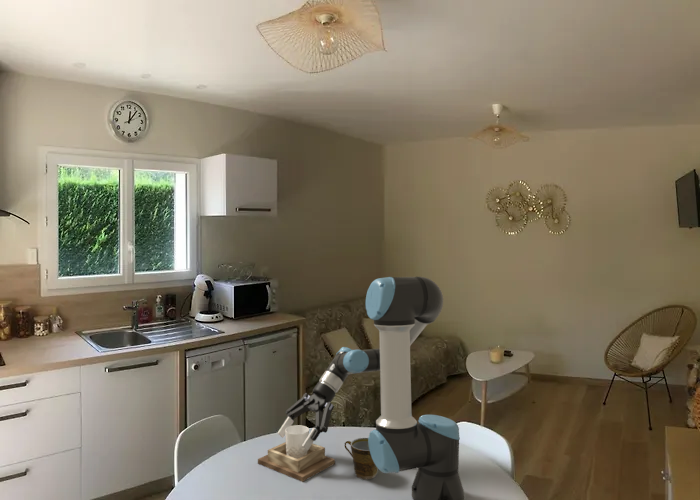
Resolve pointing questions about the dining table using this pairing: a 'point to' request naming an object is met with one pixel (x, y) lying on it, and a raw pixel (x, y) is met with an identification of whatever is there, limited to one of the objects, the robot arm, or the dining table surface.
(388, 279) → the robot arm
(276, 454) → the tray
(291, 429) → the white cup
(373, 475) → the ceramic cup
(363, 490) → the dining table surface
